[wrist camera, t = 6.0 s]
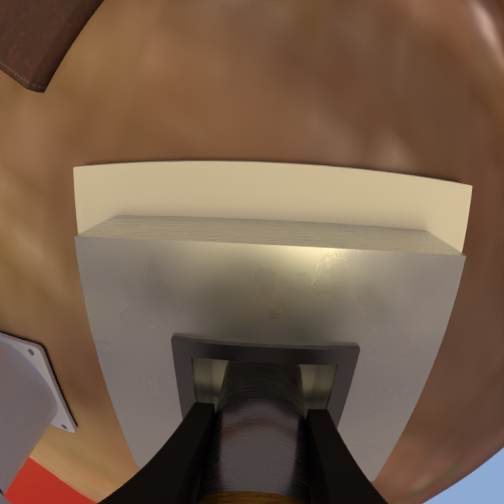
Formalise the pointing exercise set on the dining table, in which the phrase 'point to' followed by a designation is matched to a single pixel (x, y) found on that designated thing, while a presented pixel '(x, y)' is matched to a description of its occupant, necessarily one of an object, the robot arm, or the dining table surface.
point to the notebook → (39, 37)
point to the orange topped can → (258, 438)
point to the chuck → (266, 317)
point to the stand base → (272, 200)
